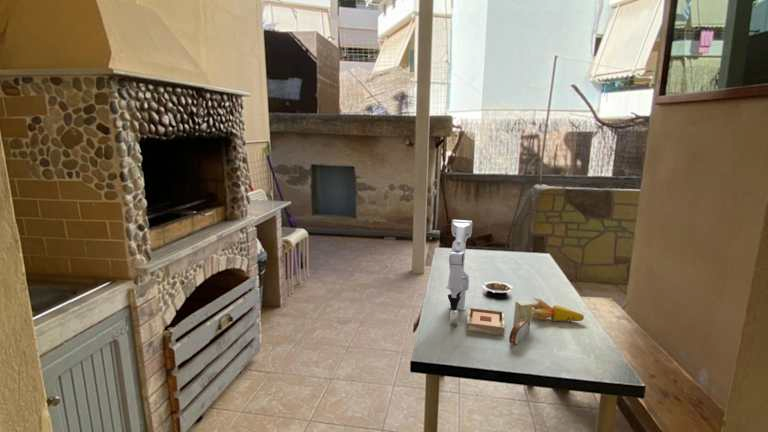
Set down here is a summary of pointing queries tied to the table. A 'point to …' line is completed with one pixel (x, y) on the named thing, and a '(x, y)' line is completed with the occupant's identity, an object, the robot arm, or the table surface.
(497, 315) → the socket plate
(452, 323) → the peg
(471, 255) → the table surface
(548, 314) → the yellow tapered piece
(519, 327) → the tin
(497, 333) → the open box
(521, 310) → the skincare box
